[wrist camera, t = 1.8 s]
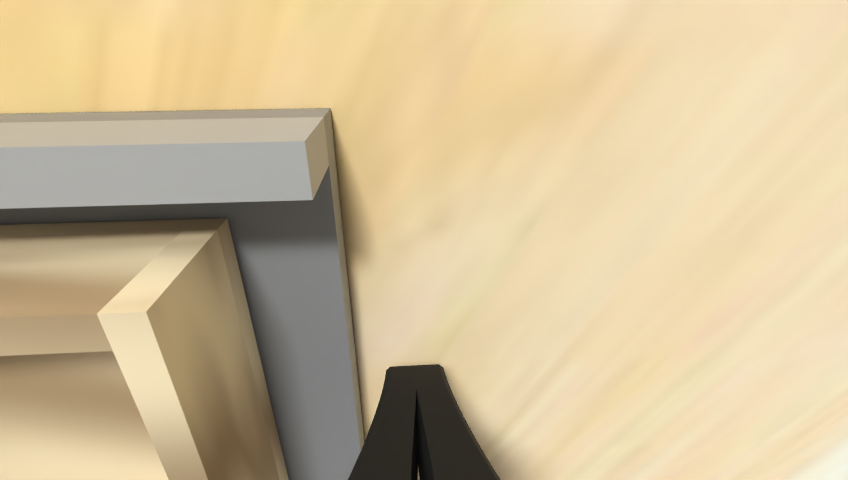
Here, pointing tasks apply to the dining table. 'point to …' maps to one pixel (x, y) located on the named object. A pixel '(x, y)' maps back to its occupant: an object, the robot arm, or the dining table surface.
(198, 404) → the crate
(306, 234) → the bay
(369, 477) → the robot arm
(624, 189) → the dining table surface
